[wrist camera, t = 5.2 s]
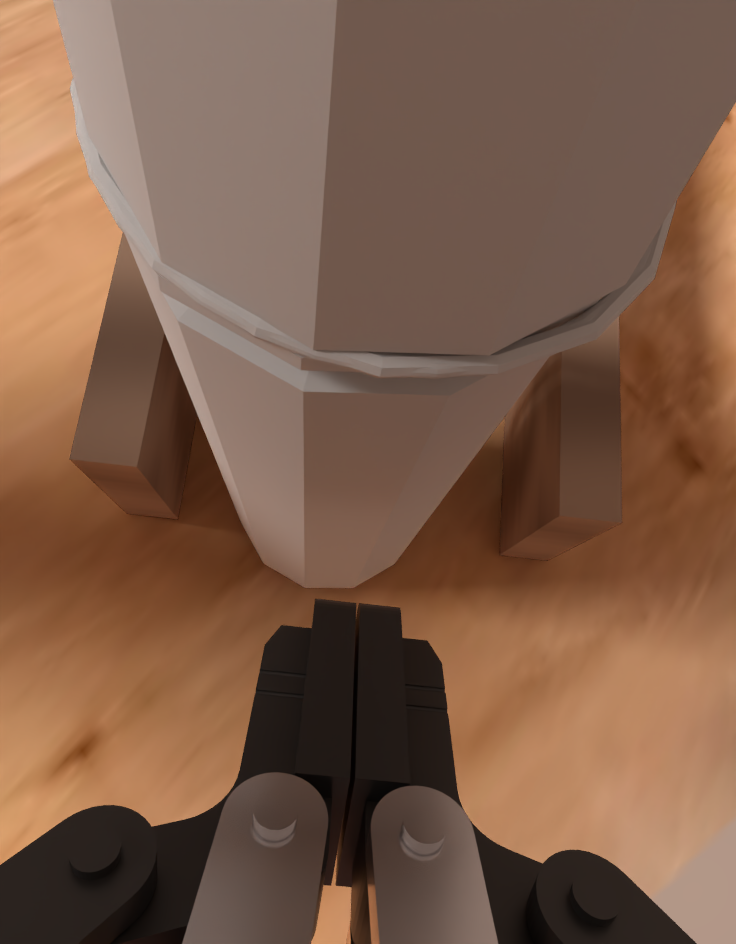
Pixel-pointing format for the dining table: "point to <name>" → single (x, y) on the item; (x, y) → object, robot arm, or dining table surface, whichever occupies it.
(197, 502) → the dining table surface
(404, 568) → the dining table surface
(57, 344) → the dining table surface
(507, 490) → the bottle rest
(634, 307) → the dining table surface
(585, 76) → the water bottle
